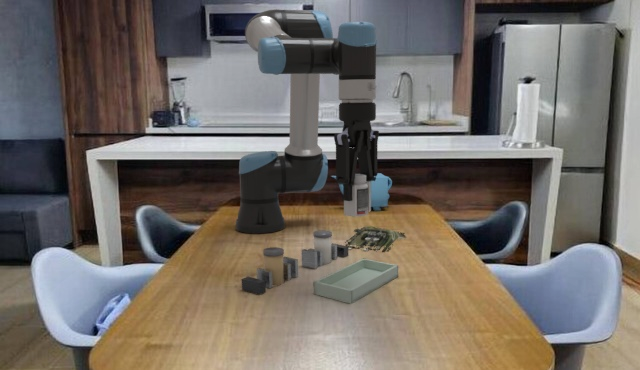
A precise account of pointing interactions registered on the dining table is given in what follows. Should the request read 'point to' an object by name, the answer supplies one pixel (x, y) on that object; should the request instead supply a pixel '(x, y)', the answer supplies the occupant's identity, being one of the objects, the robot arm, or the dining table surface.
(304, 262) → the clip row
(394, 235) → the circuit board
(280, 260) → the cylinder
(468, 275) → the dining table surface
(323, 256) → the grey lidded jar
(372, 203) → the teapot
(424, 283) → the dining table surface
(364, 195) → the pill bottle
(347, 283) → the tray
